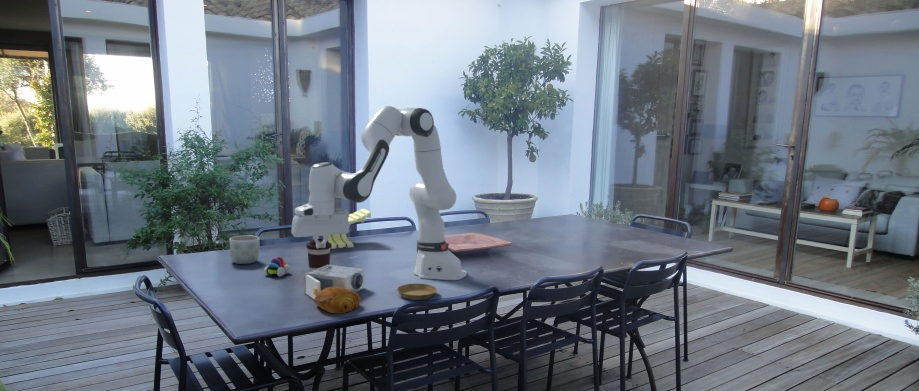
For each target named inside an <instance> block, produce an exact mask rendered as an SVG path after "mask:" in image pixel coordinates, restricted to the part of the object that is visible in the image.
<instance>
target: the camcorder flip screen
mask: <svg viewBox="0 0 919 391" xmlns="http://www.w3.org/2000/svg"><path fill="white" fill-rule="evenodd" d="M303 280H304V294H306V295H307V296H309V297H310V298H311V299H313V300H314V301H315V297H316V295H317V293H318V292H320V281H318V280H316V279H315V278H313V277H312V276H310V275H308V272H306V273H304V279H303Z"/></svg>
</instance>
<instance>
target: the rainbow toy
mask: <svg viewBox="0 0 919 391" xmlns="http://www.w3.org/2000/svg"><path fill="white" fill-rule="evenodd" d="M290 272H291V267H290V266H289V265H288V264H287V262H286V261H285V260H284V258H283V257H281V256H278V257H274V258H272V259H271V260H270V262H269V263H268V265H267V266H265V267H264V269H263V273H264V275H265V276H267V277H268V276H269V277H270V275H277V276H278V277H279V278H281V277H283V276H284V275H288V274H290Z"/></svg>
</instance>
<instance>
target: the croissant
mask: <svg viewBox="0 0 919 391" xmlns="http://www.w3.org/2000/svg"><path fill="white" fill-rule="evenodd" d="M361 301H362V300H361V296H360V295H359V294H358V293H357V292H354V291H352V290H350V289H346V288H342V287H336V286H333V287H329V288H325V289H324V290H322V291H320V292H318V293H317V295H316V297H315V300H314V303H315V304H316V305H317V306H318V307H319V308H320V309H322V310H323V311H325V312H327V313H331V314H345V313H349V312H351V311H352V310H355V308H356V309H358V307H359V306H360V302H361Z"/></svg>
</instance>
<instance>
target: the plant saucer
mask: <svg viewBox="0 0 919 391" xmlns="http://www.w3.org/2000/svg"><path fill="white" fill-rule="evenodd" d="M437 290H438V289H437V287H436V286H434V285H432V284H431V285H430V284H427V283H407V284H402V285H400V286H398V287H397V289H396V291H397V292H398V293H399V295H400V296H401V297H403V298H404V299H407V300H415V301H421V300H427V299H429V298H431V297H432V296H434V295H435V294H436V292H438V291H437Z"/></svg>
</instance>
